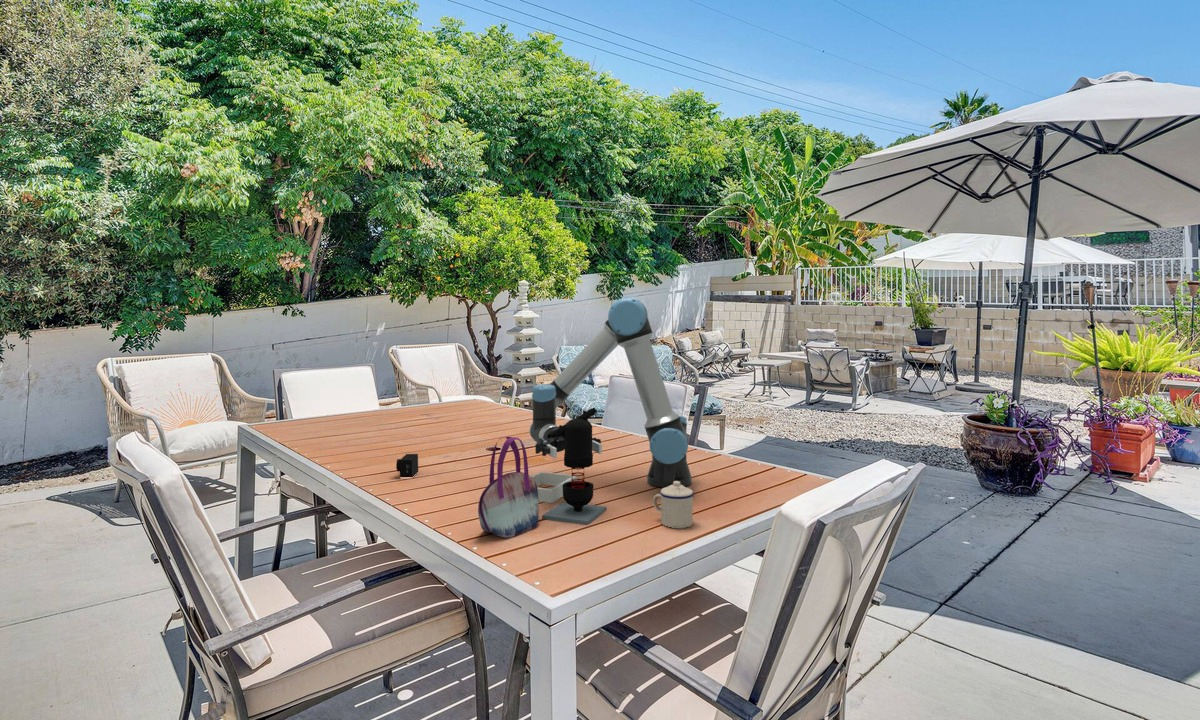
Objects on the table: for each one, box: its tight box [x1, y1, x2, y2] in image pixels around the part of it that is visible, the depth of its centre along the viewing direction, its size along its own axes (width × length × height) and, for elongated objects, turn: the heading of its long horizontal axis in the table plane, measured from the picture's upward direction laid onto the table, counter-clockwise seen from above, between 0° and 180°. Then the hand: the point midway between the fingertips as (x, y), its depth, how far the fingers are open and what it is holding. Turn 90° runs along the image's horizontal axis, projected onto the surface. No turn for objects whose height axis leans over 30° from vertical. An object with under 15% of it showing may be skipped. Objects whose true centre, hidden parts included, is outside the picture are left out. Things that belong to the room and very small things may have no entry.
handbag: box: [477, 436, 540, 538], centre depth 165 cm, size 21×10×25 cm, turn 143°
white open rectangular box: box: [530, 471, 579, 504], centre depth 200 cm, size 14×19×4 cm
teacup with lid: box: [652, 481, 694, 529], centre depth 170 cm, size 12×9×12 cm
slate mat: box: [541, 501, 607, 526], centre depth 178 cm, size 14×14×1 cm
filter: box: [550, 407, 598, 512], centre depth 177 cm, size 14×9×30 cm
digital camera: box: [395, 453, 419, 478], centre depth 223 cm, size 10×5×7 cm, turn 4°
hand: (578, 451), depth 174 cm, fingers open, 13 cm apart
